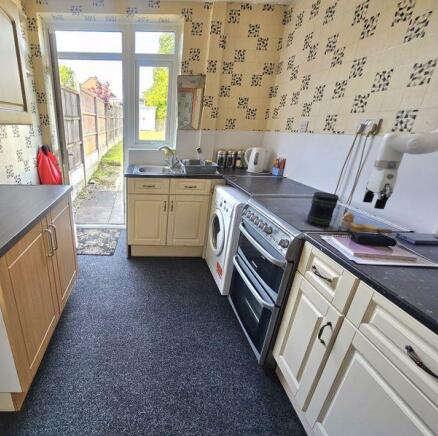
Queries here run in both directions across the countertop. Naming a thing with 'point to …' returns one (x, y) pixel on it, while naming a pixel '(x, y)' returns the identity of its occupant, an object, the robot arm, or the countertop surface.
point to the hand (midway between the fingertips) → (372, 205)
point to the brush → (366, 228)
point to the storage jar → (322, 209)
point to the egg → (346, 220)
